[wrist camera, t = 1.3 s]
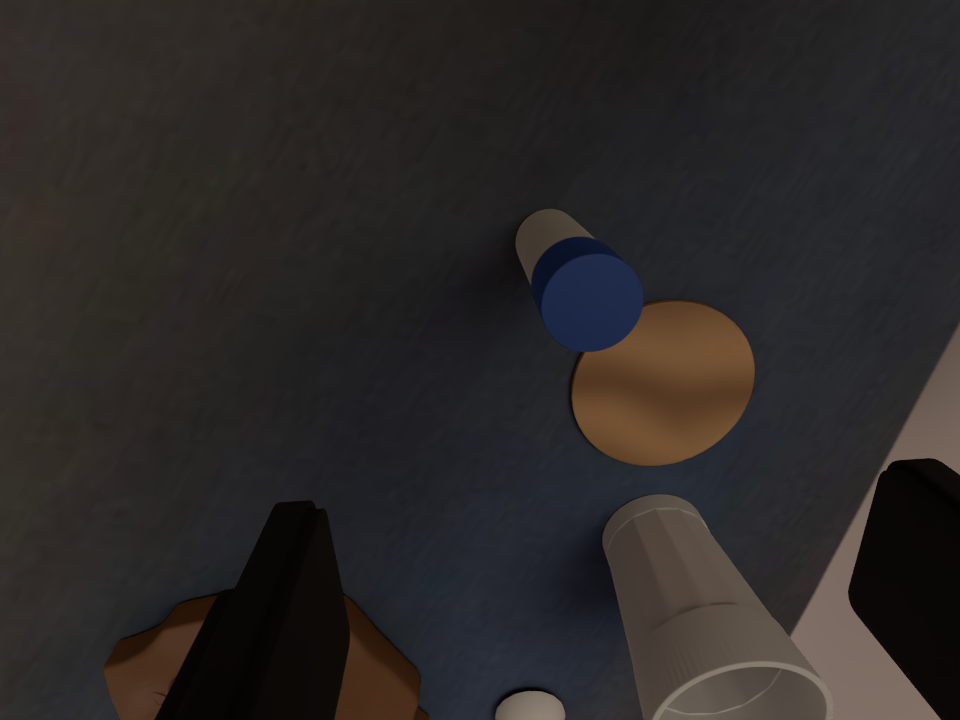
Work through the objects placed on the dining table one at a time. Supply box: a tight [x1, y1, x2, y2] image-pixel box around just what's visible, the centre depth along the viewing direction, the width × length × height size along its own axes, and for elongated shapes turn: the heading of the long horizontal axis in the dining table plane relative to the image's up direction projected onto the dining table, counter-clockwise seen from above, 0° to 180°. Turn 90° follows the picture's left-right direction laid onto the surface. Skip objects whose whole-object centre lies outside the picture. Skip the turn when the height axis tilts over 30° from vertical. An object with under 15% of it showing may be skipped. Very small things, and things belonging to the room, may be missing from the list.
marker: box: [516, 209, 644, 352], centre depth 23 cm, size 3×3×10 cm
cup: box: [602, 494, 833, 720], centre depth 30 cm, size 8×8×12 cm
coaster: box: [571, 299, 755, 466], centre depth 31 cm, size 10×10×1 cm
